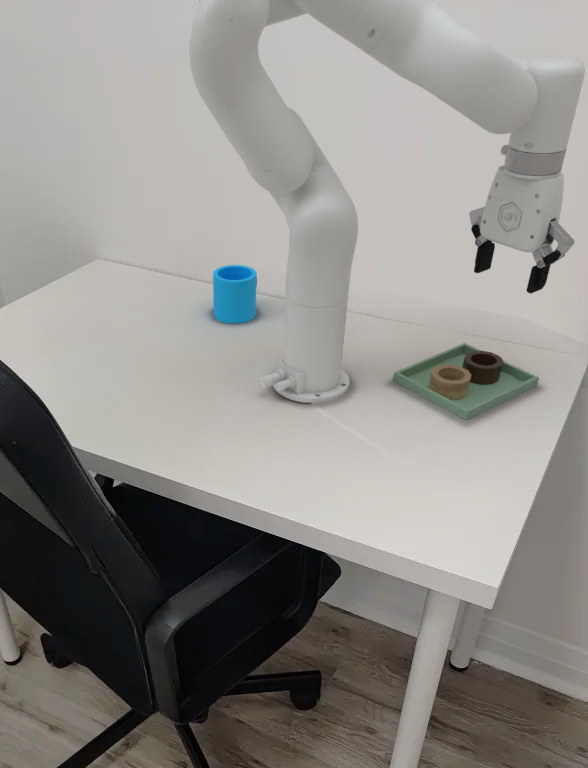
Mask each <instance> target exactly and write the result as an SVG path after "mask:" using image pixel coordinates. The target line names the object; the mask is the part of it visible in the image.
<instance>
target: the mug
mask: <svg viewBox="0 0 588 768" xmlns="http://www.w3.org/2000/svg"><path fill="white" fill-rule="evenodd" d="M257 288H258V276H257V271H256V269H254V268H252V267H250V266H247V265H241V264H230V265H224V266H223V265H222V266H220V267H218V268H216V269H215V270H214V271H213V273H212V298H213V299H212V301H213V303H212V304H213V305H212V306H213V317H214V318H215V320H217V321H219V322H222V323H224V324H225V323H226V324H245V323H247V322H250V321H252V320H253V319H254V318H255V317H256V314H257Z"/></svg>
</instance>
